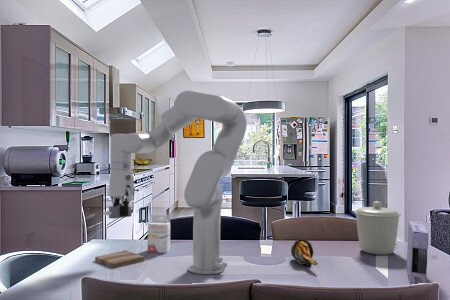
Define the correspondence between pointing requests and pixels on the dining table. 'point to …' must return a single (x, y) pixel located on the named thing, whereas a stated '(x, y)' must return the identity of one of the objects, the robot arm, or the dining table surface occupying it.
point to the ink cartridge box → (159, 234)
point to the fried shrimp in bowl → (303, 252)
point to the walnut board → (119, 259)
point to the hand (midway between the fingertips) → (120, 214)
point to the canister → (377, 229)
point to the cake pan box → (417, 252)
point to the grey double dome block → (117, 212)
